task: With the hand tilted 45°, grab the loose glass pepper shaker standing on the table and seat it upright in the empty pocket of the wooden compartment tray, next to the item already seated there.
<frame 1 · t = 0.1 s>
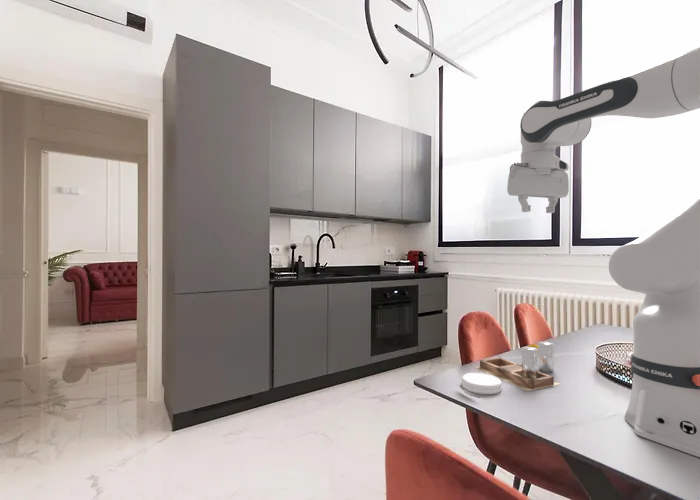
hand: (538, 212, 102), 48 cm above the table, tool pointing down, fingers open, 8 cm apart
glass pepper shaker: (546, 373, 106), on the table
seated billet: (530, 381, 97), point 1 cm above the table, touching wooden compartment tray
wooden compartment tray: (514, 378, 102), on the table
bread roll: (538, 356, 123), on the table
coaster: (481, 392, 93), on the table
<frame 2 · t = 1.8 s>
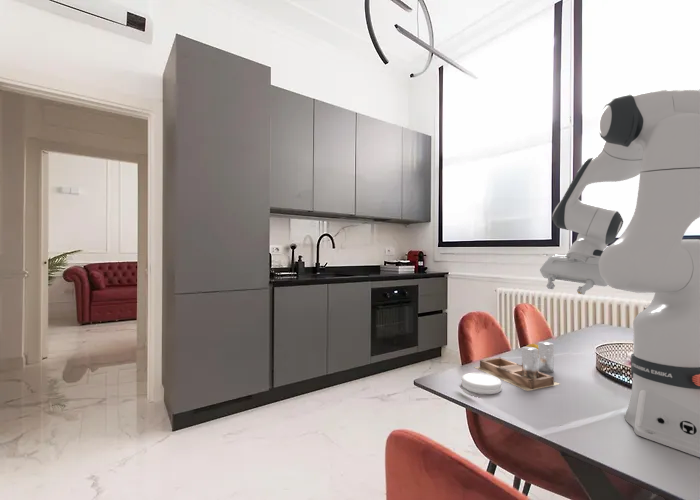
hand: (564, 290, 110), 24 cm above the table, tool tilted 40°, fingers open, 8 cm apart
nothing on the table moved.
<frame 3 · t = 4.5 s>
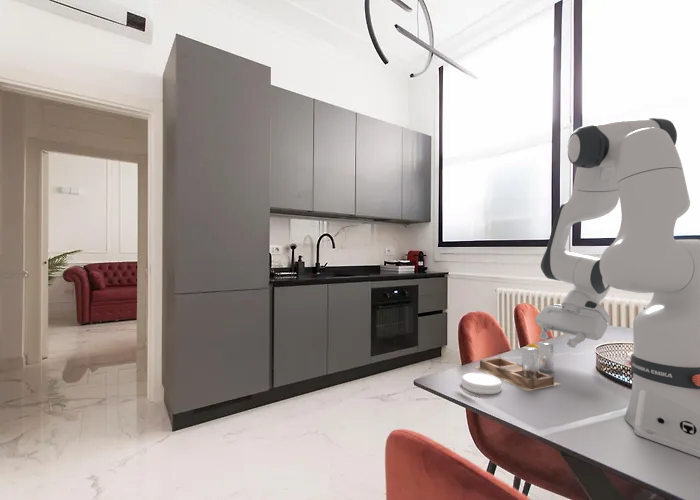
hand: (555, 342, 107), 9 cm above the table, tool tilted 45°, fingers open, 8 cm apart
nothing on the table moved.
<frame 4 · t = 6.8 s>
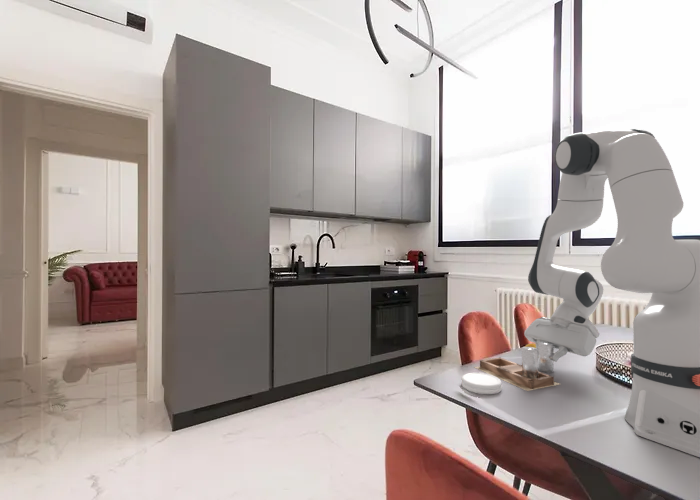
hand: (544, 357, 105), 5 cm above the table, tool tilted 45°, fingers closed on glass pepper shaker, 4 cm apart
glass pepper shaker: (546, 373, 106), on the table, touching gripper
everything else where it was.
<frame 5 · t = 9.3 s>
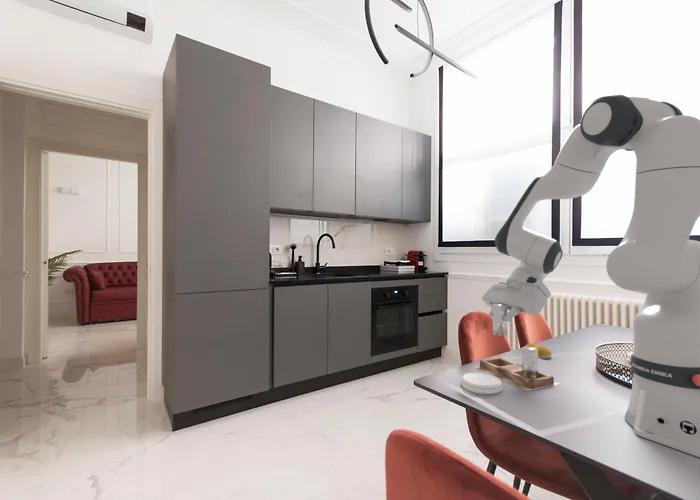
hand: (498, 318, 107), 16 cm above the table, tool tilted 45°, fingers closed on glass pepper shaker, 4 cm apart
glass pepper shaker: (500, 334, 107), point 12 cm above the table, touching gripper
everything else where it was.
when the fingers open (7 cm above the table, at t = 12.2 s): glass pepper shaker drops 1 cm, resting on wooden compartment tray.
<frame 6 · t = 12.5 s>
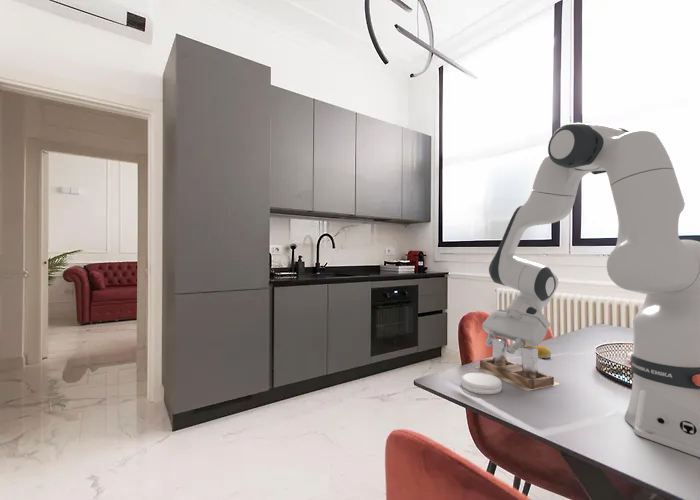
hand: (498, 348, 107), 7 cm above the table, tool tilted 45°, fingers open, 7 cm apart
glass pepper shaker: (500, 369, 107), point 1 cm above the table, touching wooden compartment tray
everything else where it was.
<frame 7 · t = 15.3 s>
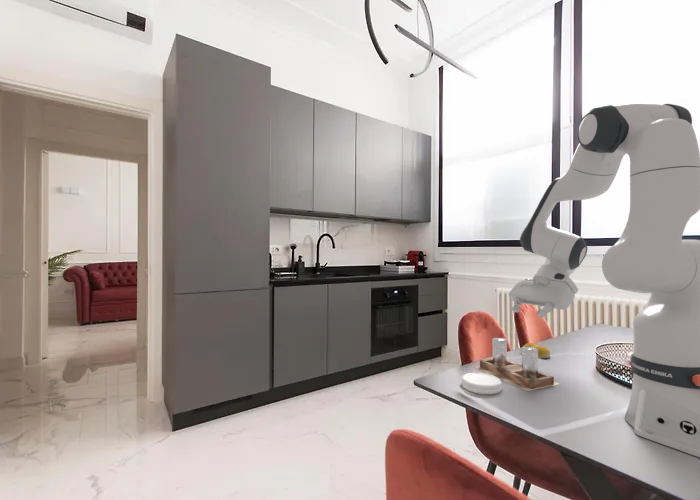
hand: (526, 313, 111), 17 cm above the table, tool tilted 45°, fingers open, 8 cm apart
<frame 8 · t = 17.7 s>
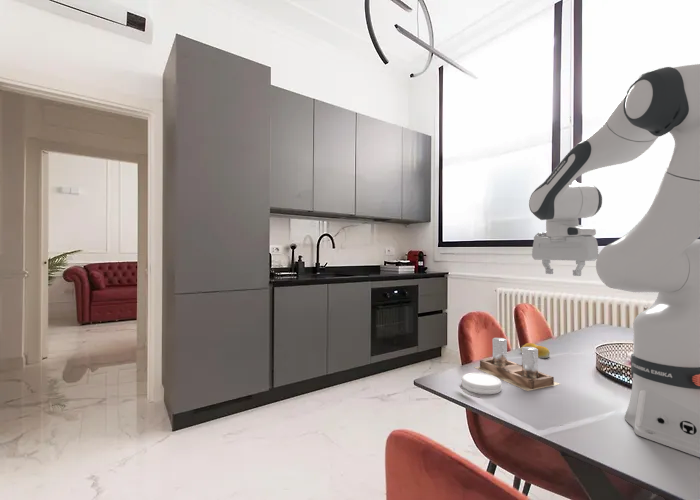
hand: (562, 274, 111), 29 cm above the table, tool pointing down, fingers open, 8 cm apart
at the end: glass pepper shaker 0.1 cm from the target spot on the wooden compartment tray, point 1.0 cm above the wooden compartment tray's base; glass pepper shaker tilted 1°; seated billet moved 0.0 cm from its start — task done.
